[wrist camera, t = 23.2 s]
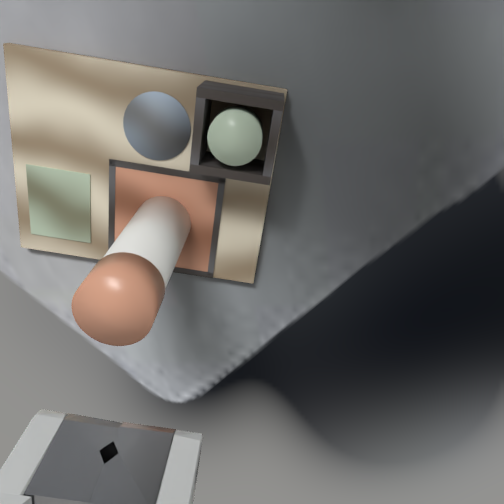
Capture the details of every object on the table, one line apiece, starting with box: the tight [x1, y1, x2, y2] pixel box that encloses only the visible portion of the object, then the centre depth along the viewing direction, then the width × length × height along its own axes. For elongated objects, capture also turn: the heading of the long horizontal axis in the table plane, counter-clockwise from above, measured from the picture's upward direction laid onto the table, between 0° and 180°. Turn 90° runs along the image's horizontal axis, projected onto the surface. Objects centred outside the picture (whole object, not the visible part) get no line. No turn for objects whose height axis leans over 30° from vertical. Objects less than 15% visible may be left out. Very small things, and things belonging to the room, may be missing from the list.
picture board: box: [3, 43, 287, 284], centre depth 35 cm, size 16×20×5 cm
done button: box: [207, 106, 263, 166], centre depth 31 cm, size 4×4×2 cm
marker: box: [72, 196, 191, 346], centre depth 32 cm, size 5×5×13 cm
